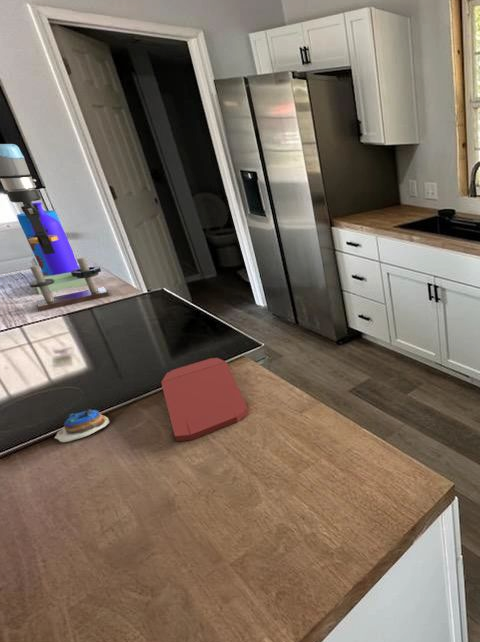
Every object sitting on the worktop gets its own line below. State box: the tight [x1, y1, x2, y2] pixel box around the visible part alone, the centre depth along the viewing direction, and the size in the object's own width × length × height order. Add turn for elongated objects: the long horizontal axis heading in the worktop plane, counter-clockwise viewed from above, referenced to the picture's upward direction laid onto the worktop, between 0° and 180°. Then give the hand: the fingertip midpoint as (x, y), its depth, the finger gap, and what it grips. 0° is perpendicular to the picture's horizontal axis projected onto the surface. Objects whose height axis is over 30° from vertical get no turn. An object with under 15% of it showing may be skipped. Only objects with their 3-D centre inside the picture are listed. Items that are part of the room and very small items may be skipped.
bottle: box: [30, 201, 80, 276], centre depth 164 cm, size 8×8×30 cm
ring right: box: [71, 265, 102, 277], centre depth 144 cm, size 7×7×1 cm
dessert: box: [54, 408, 110, 443], centre depth 81 cm, size 8×7×6 cm
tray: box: [34, 272, 88, 295], centre depth 159 cm, size 15×13×3 cm
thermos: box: [16, 210, 76, 276], centre depth 170 cm, size 11×11×25 cm
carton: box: [160, 357, 250, 442], centre depth 90 cm, size 12×5×25 cm
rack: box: [28, 257, 110, 312], centre depth 141 cm, size 17×8×14 cm, turn 139°
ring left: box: [29, 235, 59, 244], centre depth 153 cm, size 7×7×1 cm
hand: (49, 251), depth 154 cm, fingers closed on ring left, 7 cm apart
